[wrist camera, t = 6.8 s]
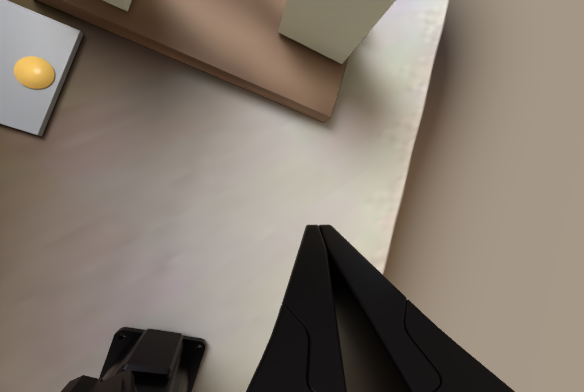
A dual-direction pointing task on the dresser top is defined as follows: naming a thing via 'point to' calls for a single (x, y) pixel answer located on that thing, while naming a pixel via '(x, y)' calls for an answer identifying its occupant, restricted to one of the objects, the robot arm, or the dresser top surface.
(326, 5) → the button
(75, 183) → the dresser top surface
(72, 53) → the card
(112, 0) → the button
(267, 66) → the wooden base plate
